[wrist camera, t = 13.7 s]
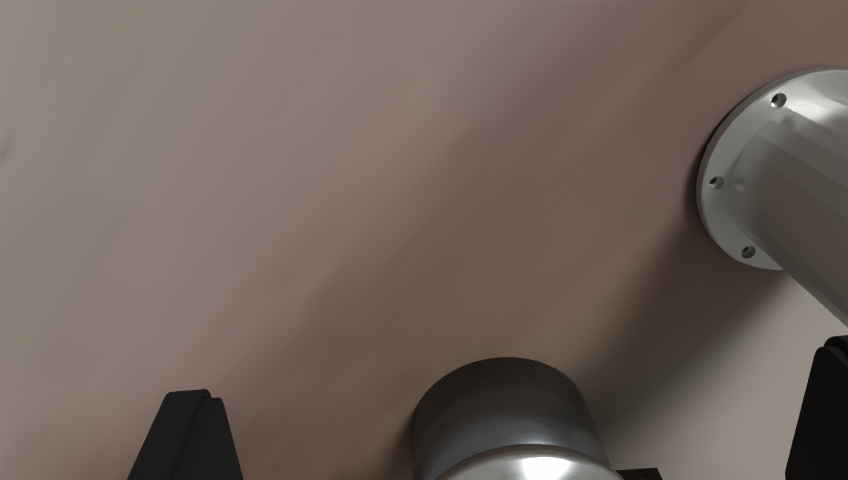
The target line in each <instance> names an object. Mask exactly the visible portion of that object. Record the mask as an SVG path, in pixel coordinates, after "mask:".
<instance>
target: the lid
mask: <svg viewBox="0 0 848 480" xmlns="http://www.w3.org/2000/svg"><path fill="white" fill-rule="evenodd" d="M438 480H624V479H623V478H622V477H621V476H620V474H618V473H617V472H616V471H615V470H614V469H612V468H611V467H610V466H608V465H607V464H605V463H604V462H602V461H600V460H598V459H596V458H594V457H592V456H590V455H587V454H584V453H581V452H578V451H575V450H571V449H566V448H560V447H552V446H522V447H513V448H507V449H502V450H498V451H493V452H490V453H487V454H484V455H481V456H478V457H476V458H473V459H471V460H469V461H467V462H464V463H462V464H461V465H459V466H457V467H456V468H454V469H452V470H450V471H449V472H448V473H446V474H445V475H444V476H442V477H441V478H440V479H438Z"/></svg>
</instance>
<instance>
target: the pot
mask: <svg viewBox="0 0 848 480" xmlns="http://www.w3.org/2000/svg"><path fill="white" fill-rule="evenodd" d="M411 446H412V473H413V480H438V479H440V478H441V477H442V476H444V475H445V474H446V473H448V472H449V471H450V470H452V469H454V468H456V467H457V466H459V465H461V464H462V463H464V462H467V461H469V460H471V459H473V458H476V457H478V456H481V455H484V454H487V453H490V452H493V451H498V450H502V449H507V448H513V447H522V446H552V447H560V448H566V449H571V450H575V451H578V452H581V453H584V454H587V455H590V456H592V457H594V458H596V459H598V460H600V461H602V462H604V463H605V464H607V465H608V466H610V467H611V465H610V463H609V460H608V458H607V455H606V453H605V450H604V448H603V445H602V443H601V440H600V438H599V435H598V433H597V430H596V428H595V425H594V422H593V420H592V417H591V415H590V412H589V410H588V407H587V405H586V402H585V400H584V397H583V396H582V394H581V392H580V390H579V389H578V388H577V386H576V385H575V384H574V383H573V382H572V381H571V380H570V379H569V378H568V377H567V376H566V375H564V374H563V373H561V372H560V371H558V370H557V369H555V368H553V367H551V366H549V365H547V364H544V363H541V362H538V361H534V360H529V359H525V358H515V357H500V358H492V359H486V360H481V361H477V362H474V363H471V364H468V365H465V366H463V367H460V368H458V369H456V370H454V371H452V372H451V373H449V374H447V375H446V376H444V377H443V378H441V379H440V380H439V381H438V382H436V383H435V384H434V385H433V386H432V387H431V388H430V389H429V390H428V391H427V392H426V394H425V395H424V396H423V398H422V399H421V401H420V402H419V404H418V406H417V408H416V410H415V413H414V416H413V420H412V425H411ZM616 472H617V473H618V474H620V476H621V477H622V478H623V479H624V480H662V478H661V476H660V474H659V471H658V469H657V468H645V469H630V470H616Z"/></svg>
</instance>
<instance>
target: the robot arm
mask: <svg viewBox="0 0 848 480" xmlns="http://www.w3.org/2000/svg"><path fill="white" fill-rule="evenodd" d="M773 96H774V98H773V99H772V97H773ZM710 180H711V181H710ZM696 203H697V207H698V212H699V216H700V219H701V221H702V223H703V225H704V227H705V229H706V231H707V233H708V234H709V235H710V237H711V238H712V239H713V240H714V241H715V242H716V244H717V245H718V246H719V247H720V248H722V249H723V250H724V251H725V252H726V253H727V254H728V255H729V256H731V257H733V258H734V259H736V260H737V261H739V262H741V263H743V264H746V265H750V266H753V267H756V268H759V269H768V270H777V271H778V270H785V271H786V272H787V273H788V274H789V275H790V276H791V277H792V278H793V279H795V280H796V281H797V282H798V283H799V284H800V285H801V286H802V287H803V288H804V289H806V290H807V291H808V292H809V293H810V294H811V295H812V296H813V297H814V298H816V299H817V300H818V301H819V302H820V303H821V304H822V305H823V306H824V307H825V308H827V309H828V310H829V311H830V312H831V313H832V314H833V315H834V316H835V317H836V318H838V319H839V320H840V321H841V322H842V323H843V324H844V325H845V326H846V327H847V328H848V69H847V68H840V67H819V68H811V69H807V70H803V71H798V72H794V73H791V74H789V75H786V76H784V77H782V78H779V79H777V80H775V81H772V82H770V83H769V84H767V85H765V86H764V87H762V88H761V89H759V90H758V91H756V92H754V93H753V94H751V95H750V96H749V97H748V98H747V99H745V100H744V101H743V102H742V103H741V104H740V105H738V106H737V107H736V108H735V109H734V110H733V111H732V112H731V113H730V114H729V116H728V117H727V118H726V119H725V120H724V122H723V123H722V124H721V125H720V126H719V128H718V129H717V131H716V132H715V134H714V136H713V137H712V139H711V141H710V142H709V144H708V146H707V148H706V151H705V153H704V156H703V158H702V161H701V163H700V167H699V172H698V177H697V182H696ZM785 478H786V480H848V335H844V336H834V337H830V338H829V339H828V340H827V341H826V342H825V344H824V346H823V347H820V348H818V349H817V350H816V353H815V355H814V359H813V363H812V367H811V371H810V375H809V379H808V383H807V387H806V391H805V395H804V399H803V403H802V407H801V411H800V415H799V419H798V423H797V426H796V430H795V434H794V438H793V442H792V446H791V450H790V454H789V458H788V462H787V466H786V471H785ZM127 480H243V476H242V472H241V469H240V465H239V461H238V457H237V453H236V449H235V446H234V442H233V438H232V434H231V430H230V426H229V422H228V419H227V415H226V411H225V407H224V404H223V401H222V399H221V398H212V397H211V395H210V393H209V391H208V390H206V389H200V390H188V391H177V392H169V393H168V394H167V395H166V396H165V398H164V400H163V402H162V404H161V406H160V409H159V411H158V413H157V415H156V417H155V419H154V422H153V424H152V426H151V428H150V430H149V433H148V435H147V437H146V439H145V441H144V443H143V446H142V448H141V450H140V452H139V454H138V457H137V459H136V461H135V463H134V465H133V467H132V470H131V472H130V474H129V476H128V478H127Z"/></svg>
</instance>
